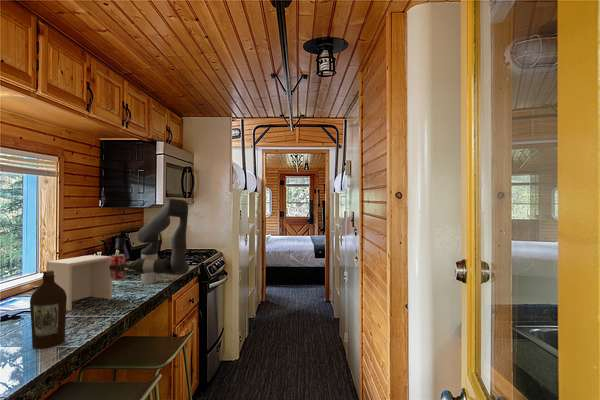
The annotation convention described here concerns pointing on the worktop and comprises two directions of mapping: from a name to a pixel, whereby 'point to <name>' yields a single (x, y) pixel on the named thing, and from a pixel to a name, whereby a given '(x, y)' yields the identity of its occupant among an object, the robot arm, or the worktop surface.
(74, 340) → the worktop surface
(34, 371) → the worktop surface
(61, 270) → the cubby
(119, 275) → the soda can
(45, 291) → the olive oil
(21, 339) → the worktop surface
